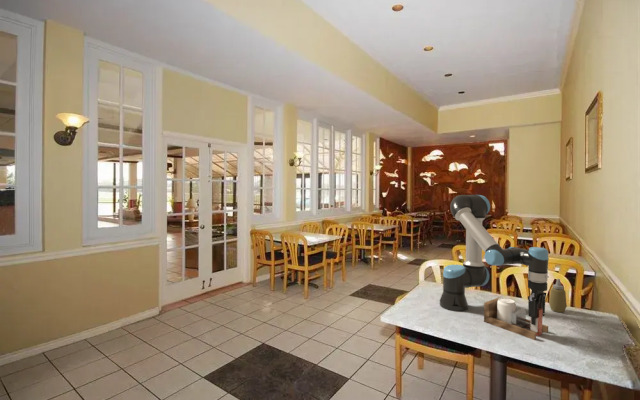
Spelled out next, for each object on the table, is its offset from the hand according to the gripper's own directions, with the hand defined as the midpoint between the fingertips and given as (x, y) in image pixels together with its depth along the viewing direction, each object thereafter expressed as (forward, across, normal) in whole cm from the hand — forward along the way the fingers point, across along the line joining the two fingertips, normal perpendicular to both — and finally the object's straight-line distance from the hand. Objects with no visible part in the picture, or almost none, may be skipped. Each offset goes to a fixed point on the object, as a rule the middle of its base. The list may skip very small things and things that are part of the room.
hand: (536, 329), depth 150 cm
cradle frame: (+2, 0, +9) cm, 10 cm away
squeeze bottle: (+2, +42, +7) cm, 43 cm away
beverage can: (+2, 0, +14) cm, 14 cm away
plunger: (+2, 0, +3) cm, 4 cm away
